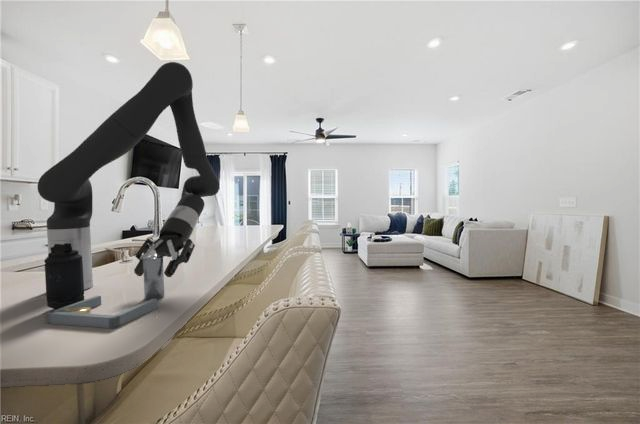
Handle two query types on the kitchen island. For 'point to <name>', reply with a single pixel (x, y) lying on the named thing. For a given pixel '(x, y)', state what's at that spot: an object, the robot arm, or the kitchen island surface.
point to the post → (153, 277)
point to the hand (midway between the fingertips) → (152, 275)
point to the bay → (97, 319)
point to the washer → (81, 310)
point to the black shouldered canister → (63, 276)
